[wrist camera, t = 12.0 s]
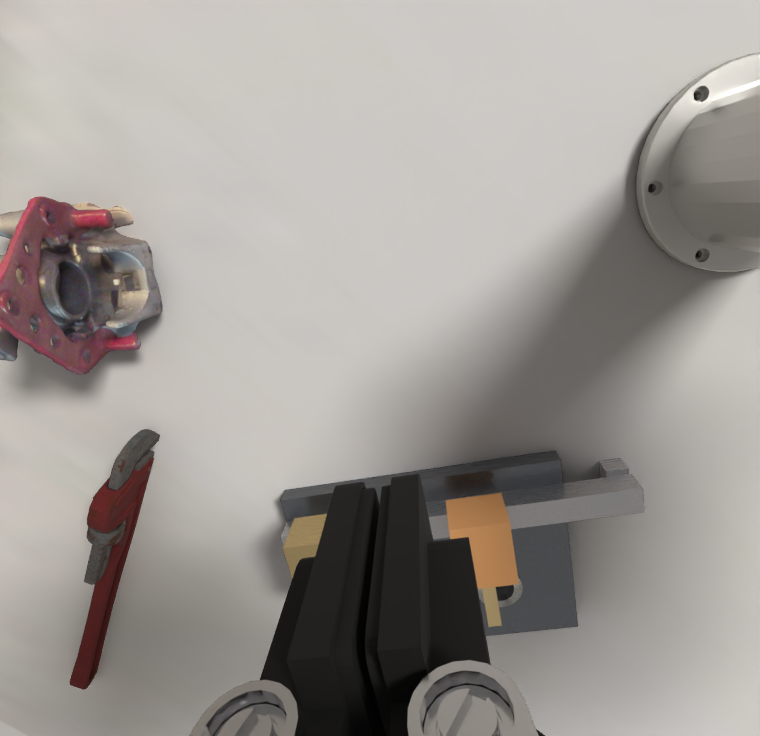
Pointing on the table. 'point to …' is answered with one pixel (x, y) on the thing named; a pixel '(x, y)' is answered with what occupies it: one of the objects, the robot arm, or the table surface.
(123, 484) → the pipe wrench
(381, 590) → the robot arm
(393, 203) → the table surface
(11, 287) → the red grey carburetor
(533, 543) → the bolt plate
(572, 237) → the table surface
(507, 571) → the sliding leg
